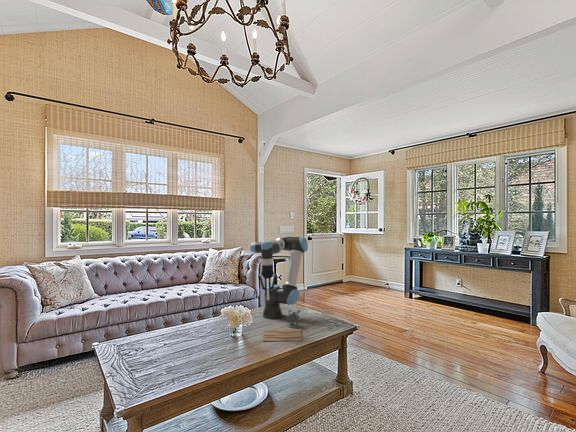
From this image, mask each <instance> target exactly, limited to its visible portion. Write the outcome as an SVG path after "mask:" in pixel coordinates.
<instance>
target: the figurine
mask: <svg viewBox="0 0 576 432" xmlns="http://www.w3.org/2000/svg"><path fill="white" fill-rule="evenodd" d="M287 312H288V313H287V314H286V318H285V320H286V322H287V323H286V327H287V328H288V329H289V328H290V329H301V327H302V326H303V324H302V323H300V322H299V319H300V316H299V314H300V313H301V310H300V309H297V310H296V312H295V311H293V310H291V309H288V310H287Z"/></svg>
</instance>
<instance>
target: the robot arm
mask: <svg viewBox="0 0 576 432" xmlns="http://www.w3.org/2000/svg"><path fill="white" fill-rule="evenodd" d="M308 248H309V243H308V241H307V238H306V237H304V236H285V237H278V238H276V239H275V240H266V241H260V242H256V241H255V242H251V244H250V248H249V249H250V252H251V253H253V254H261V272H260V274H258V276H257V277H258V278H259V282H260V285H261V286H260V287H261V288H262V290H264V306H263V307H264V308H263V310H262V317H263V318H265V319H271V320H272V319H279V318H281V317H282V316H283V310H282V308H281V304H283V305H288V306H289V305H291V306H293V305H295V304H297V302H298V300H299V298H300V290H299V289H298V286H297V281H298V277H299V271H300V267H301V266H300V265H301V262H302V261H301V260H302V256H304V255H305V253H306V252H307V251H308ZM282 251H288V252H289V253H290V257H289V261H288V267H287V272H286V277H285V282H284V283H283V284H282V286H280V284H275V283H276V279H277V277H278V275H277V274H276V273H275V272H274V265H273V264H274V258H273V255H275V254H279V253H281V252H282ZM262 278H263V279H264V282H263V279H262ZM271 278H273V279H272V283H271ZM267 280H268V282H267Z"/></svg>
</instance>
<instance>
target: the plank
mask: <svg viewBox="0 0 576 432" xmlns="http://www.w3.org/2000/svg"><path fill="white" fill-rule="evenodd" d="M276 335H302V329H301V328H290V329H289V328H287V329H264V332H263V337H264V336H276Z"/></svg>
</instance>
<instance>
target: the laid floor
mask: <svg viewBox="0 0 576 432" xmlns="http://www.w3.org/2000/svg"><path fill="white" fill-rule="evenodd" d="M302 335H303V334H301V335H276V336H264V335H263V339H262V342H263V343H267V342H268V343H269V342H270V343H274V342H279V343H281V342H303V337H302Z"/></svg>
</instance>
